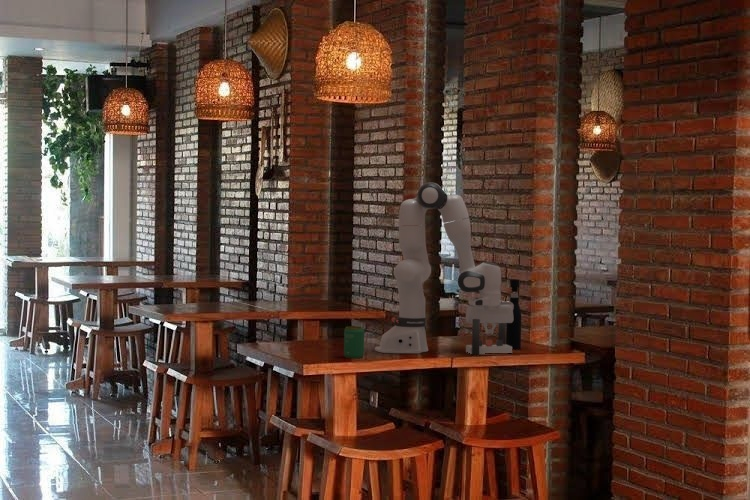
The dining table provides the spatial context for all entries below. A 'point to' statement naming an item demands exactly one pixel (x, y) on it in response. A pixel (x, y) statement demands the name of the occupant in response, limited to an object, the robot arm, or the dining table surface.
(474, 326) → the dark grey tall bar
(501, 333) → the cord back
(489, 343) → the breaker paddles
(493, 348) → the breaker box
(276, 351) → the dining table surface
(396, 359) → the dining table surface
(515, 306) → the wine bottle
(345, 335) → the beverage can
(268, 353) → the dining table surface
